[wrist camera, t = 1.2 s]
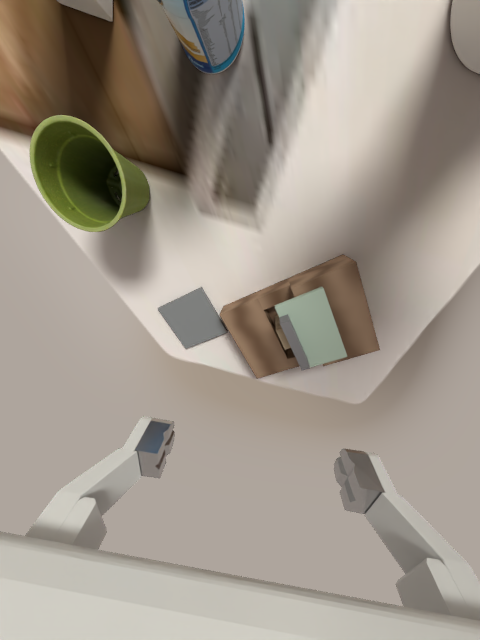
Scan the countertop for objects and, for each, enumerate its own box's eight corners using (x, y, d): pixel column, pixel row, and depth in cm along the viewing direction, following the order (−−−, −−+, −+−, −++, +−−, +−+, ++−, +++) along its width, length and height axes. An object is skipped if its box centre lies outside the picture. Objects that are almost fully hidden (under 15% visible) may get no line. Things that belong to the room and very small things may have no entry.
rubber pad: (201, 286, 42) (200, 288, 42) (227, 330, 46) (226, 332, 46) (159, 307, 46) (157, 308, 45) (186, 346, 50) (185, 348, 49)
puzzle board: (343, 254, 36) (356, 261, 31) (366, 332, 43) (379, 349, 37) (223, 306, 44) (217, 319, 38) (257, 366, 50) (256, 385, 45)
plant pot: (151, 239, 39) (111, 249, 29) (90, 201, 37) (25, 198, 27) (175, 173, 34) (137, 157, 24) (105, 125, 32) (33, 87, 22)
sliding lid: (322, 286, 33) (327, 293, 30) (346, 353, 38) (352, 365, 35) (274, 305, 35) (275, 313, 33) (302, 366, 41) (305, 378, 38)
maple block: (296, 308, 42) (299, 321, 37) (303, 327, 43) (308, 341, 38) (274, 317, 43) (275, 330, 38) (283, 334, 44) (284, 349, 40)
